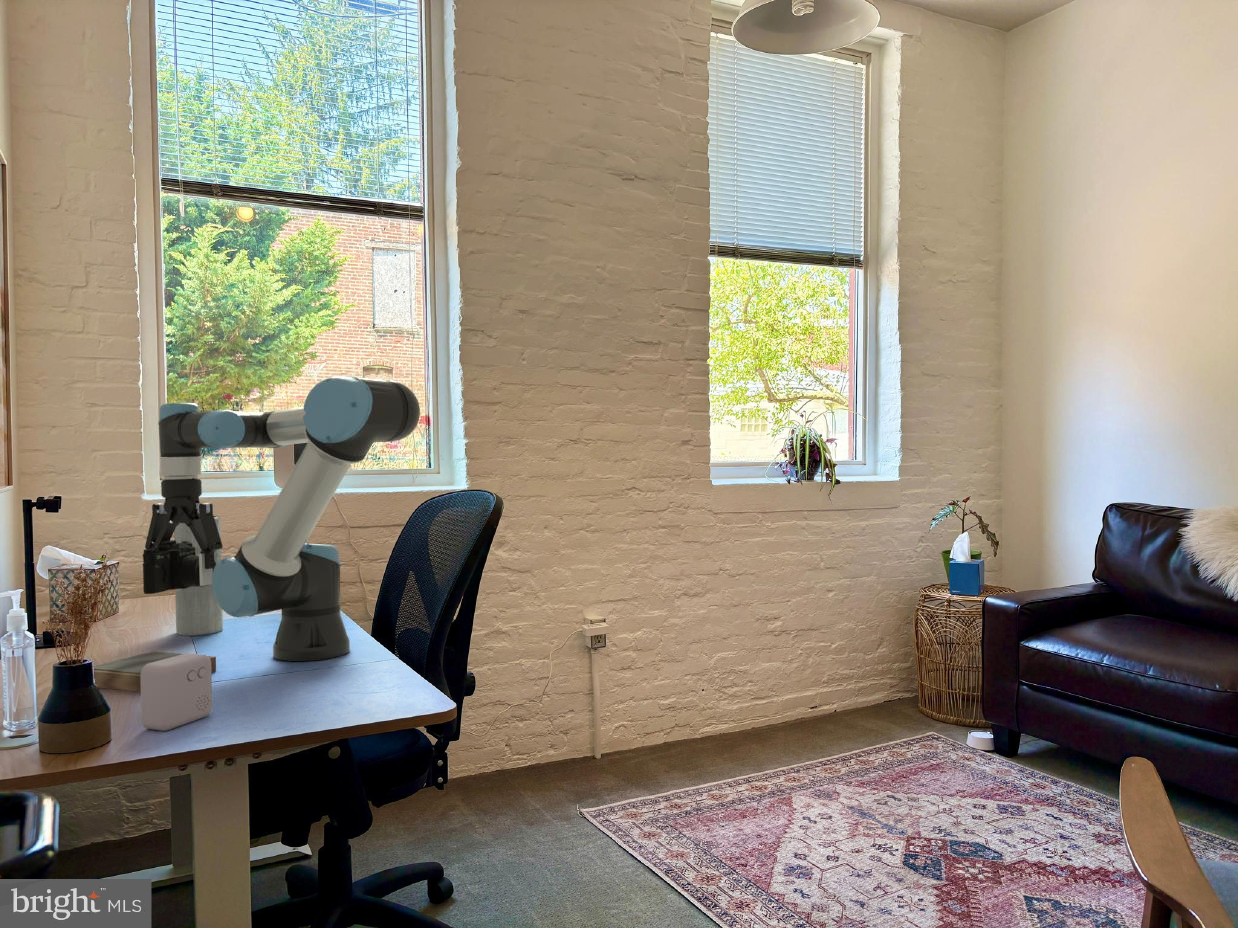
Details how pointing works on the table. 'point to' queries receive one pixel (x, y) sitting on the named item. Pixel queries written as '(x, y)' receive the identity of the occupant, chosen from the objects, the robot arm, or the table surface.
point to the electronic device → (175, 691)
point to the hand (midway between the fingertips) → (184, 584)
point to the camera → (170, 567)
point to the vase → (197, 595)
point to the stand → (131, 670)
